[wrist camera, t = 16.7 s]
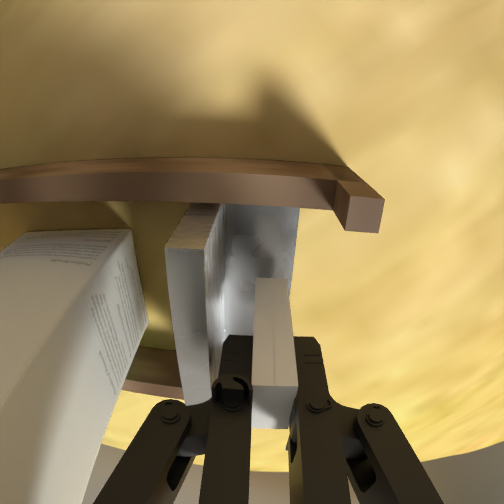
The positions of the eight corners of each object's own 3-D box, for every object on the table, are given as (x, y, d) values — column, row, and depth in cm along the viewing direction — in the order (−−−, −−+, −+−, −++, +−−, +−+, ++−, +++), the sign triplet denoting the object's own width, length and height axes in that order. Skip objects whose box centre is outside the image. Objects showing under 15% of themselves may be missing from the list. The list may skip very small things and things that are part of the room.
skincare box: (49, 310, 19) (-61, 489, 5) (22, 223, 16) (-149, 396, 2) (156, 322, 19) (71, 573, 5) (138, 220, 16) (-56, 515, 2)
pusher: (206, 352, 19) (191, 434, 14) (200, 189, 15) (163, 247, 9) (279, 357, 19) (283, 440, 14) (299, 194, 15) (321, 255, 9)
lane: (-43, 314, 20) (-69, 344, 16) (-83, 184, 14) (-121, 207, 10) (309, 371, 20) (317, 432, 16) (347, 166, 14) (384, 199, 10)
